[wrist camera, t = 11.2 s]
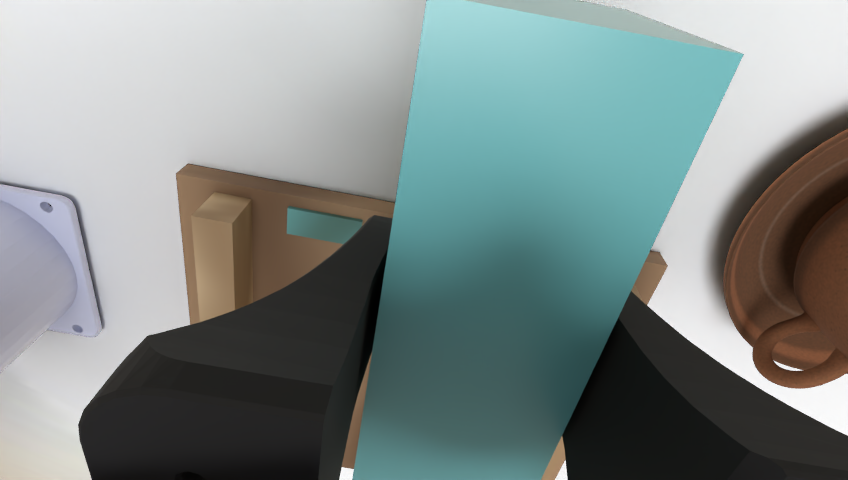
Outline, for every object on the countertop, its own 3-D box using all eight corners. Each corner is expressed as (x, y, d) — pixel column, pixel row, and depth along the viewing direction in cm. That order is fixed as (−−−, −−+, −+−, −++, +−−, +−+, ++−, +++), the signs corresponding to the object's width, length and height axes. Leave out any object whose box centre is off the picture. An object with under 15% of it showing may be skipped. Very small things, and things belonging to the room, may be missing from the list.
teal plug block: (377, 361, 16) (347, 512, 12) (440, -27, 10) (427, -8, 6) (498, 381, 16) (513, 538, 12) (627, 9, 10) (743, 53, 6)
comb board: (209, 428, 29) (185, 475, 27) (188, 163, 20) (148, 196, 18) (540, 485, 30) (548, 536, 27) (659, 252, 21) (686, 296, 19)
